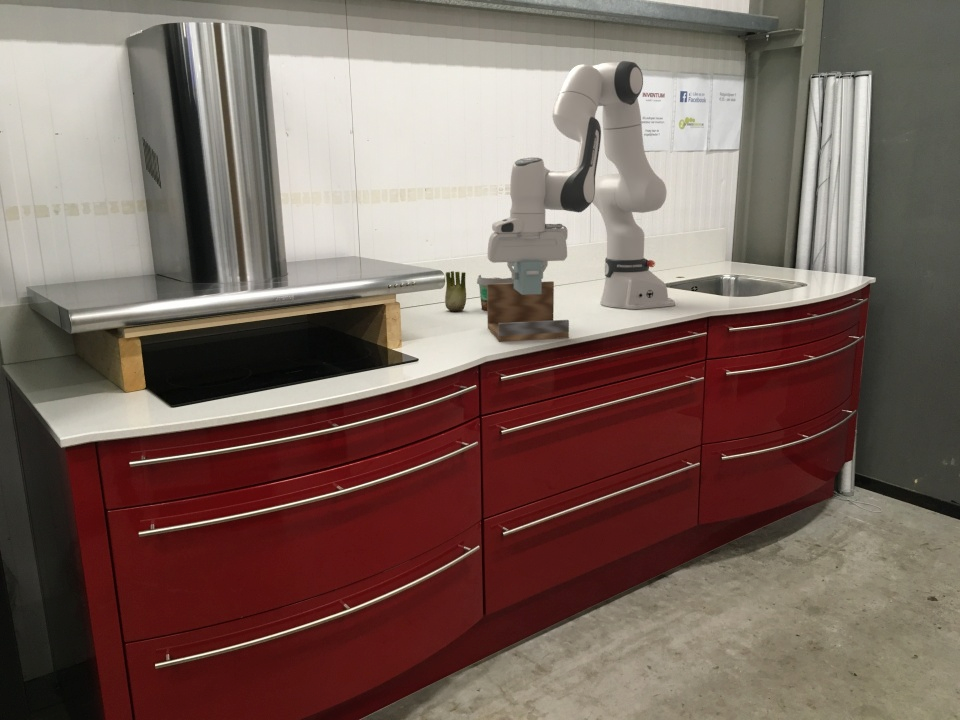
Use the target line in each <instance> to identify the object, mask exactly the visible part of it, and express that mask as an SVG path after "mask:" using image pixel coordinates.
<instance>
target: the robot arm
mask: <svg viewBox="0 0 960 720" xmlns="http://www.w3.org/2000/svg"><path fill="white" fill-rule="evenodd" d="M643 86H644V76H643V71H642V70H641V68H640V67H639V66H638V64H637V63H636V62H634V61H629V60H628V61H627V60H622V61H620V62H618V61H616V62H613V61H612V62H611V61H610V62H601V63H599V64H594V65H590V64H583V63H582V64H578V65H576V66H574V67H572V69H571V70H570V71H569V73H568V74H567V76H566V77H565V79H564V81H563V83H562V85H561V87H560V89H559V92H558V94H557V97H556V99H555V103H554V106H553V109H552V116H551V117H552V121H553V124H554V126H555V128H556V129H557V130H558V131H559V132H560V133H561V134H562V135H563V136H565V137H567V138H568V139H571V140H573V141H576V142H578V143H579V147H578V148H579V149H578V153H577V154H578V155H577V161H576V166H575V167H574V168H573V169H572V170H569V171H554V170H551V171H550V169H548V168H547V167H545V163H544V159H542V158H540V157H524V158H520V159H517V160H516V161H514V162H513V165H512V169H511V172H510V173H511V175H510V192H509V193H510V194H509V195H510V199H511V208H510V209H509V210H510V211H509V217H507V218H504V219H501V220H498V221H495V222H494V223H492V225H491V228H492V231H493V232H492V233H491V234H490V236H489V239H488V245H487V259H488V260H489V261H490V262H491V263H493V264H494V263H506V264H507V265H506V266H507V268H508V269H509V271H510V273H511V278H512V280H518V276H519V273H518V272H515V271H514V262H519V261H538V260H539V261H541V262H542V280H543V278H544V272H545V270H546V269H547V268H548V263H549V262H555V261H556V262H560V261H561V262H564V261H565V260H566V259H567V257H568V247H567V239H568V235H569V234H568V229H567V227H566V226H565V225H563V224H562V223H546V210H551V211H553V210H554V211H566V212H574V213H582V212H584V211H585V210H586V209H587V208H589V207H590V205H591V204H593V206H595V207H596V208H597V210H598V211H599V213H600V214H601V217H602V220H603V222H604V227H605V232H606V257H605V261H604V276H605V279H604V286H603V287H604V288H603V292H602V296H601V298H600V299H601V300H600V305H602V306H605V307H611V308H618V309H619V308H620V309H627V310H628V309H629V310H642V309H652V308H662V307H665V308H666V307H672V306H673V307H674V306H676V302H675V300H674V299H673V298H671V297H669V296H668V295H669V294H668V293H669V292H668V288H667V285H666V283H665V282H664V281H662V280H661V279H660V278H659V277H658V276H657V275H655V274H654V273H653V272H652V271H651V270H649V269H650V268H654V267H655V265H656V262H655V260H651V259H649V260H648V259H647V258H645V253H644V252H645V232H644V229H642V227H640V226H639V225H638V224H637V222H636V220H635V217H634V214H633V213H639V214H640V213H641V214H643V213H649V212H654V211H658V210H660V208H662V206H663V205H664V203H665V201H666V199H667V194H668V193H667V187H666V184H665V182H664V180H663V178H660V177H659V176H658V175H657V174H656V173H655V171H654V170H653V168H652V166H651V165H650V162H649V160H648V158H647V155H646V152H645V148H644V147H645V146H644V139H643V138H644V137H643V127H642V115H641V109H640V104H639V100H638V97H639V96H640V95H641V92H642V90H643V88H644V87H643ZM598 107H602V113H601V114H602V122H601V123H602V127H601V124H600V121H599V120H598V119H597V118H596V113H597V111H598ZM601 128H602V129H601ZM602 132H603V144H604V145H603V146H604V154H605V157H606V158H607V159H608V160H609V161H610V162H611V163H612V164H613V165H614V166H615V167H616V170H617V172H618V173H609V174H606V175H601V176H598V177H596V174H597V167H598V161H599V156H600V155H599V154H600V150H601V149H600V147H601V137H602Z"/></svg>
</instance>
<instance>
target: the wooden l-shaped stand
mask: <svg viewBox="0 0 960 720" xmlns="http://www.w3.org/2000/svg"><path fill="white" fill-rule="evenodd" d="M554 289H555V282H554V281H542V290H541V294H527V295H522V294H520V293H519V292H518V291H516V290H515V289H514V283H500V284H487V311H486V312H487V330H488V331H489V332H490V333H491V334H492V335H493V336H494V337H495V338H496V340H497V341H498V342H499V343H500V342H515V341H534V340H554V339H569V336H570V333H569V332H570V321H569V319H557V320H556V319H555V320H554V303H555V301H554V298H555V297H554V295H555V293H554V292H555V291H554Z"/></svg>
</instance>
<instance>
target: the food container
mask: <svg viewBox="0 0 960 720" xmlns="http://www.w3.org/2000/svg"><path fill="white" fill-rule="evenodd" d="M500 283H514V280H512V277H506V278H501V277H491V278H490V277H489V278H488V277H487V278H486V277H482V275H481V274H479V275H478V277H477V279H476V284H477V285H478V287H479V296H480V307H481V310H482V311H484V312H487V284H500Z"/></svg>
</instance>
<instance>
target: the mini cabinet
mask: <svg viewBox="0 0 960 720" xmlns="http://www.w3.org/2000/svg"><path fill="white" fill-rule="evenodd" d="M513 269H514V271H515V272H518V273H519V276H518V280H514V289H515V290H516V291H518V292H519V293H520V294H522V295H527V294H541V290H542V282H543V279H542V262H541V261H539V260H538V261H519V262H514V266H513Z"/></svg>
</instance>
